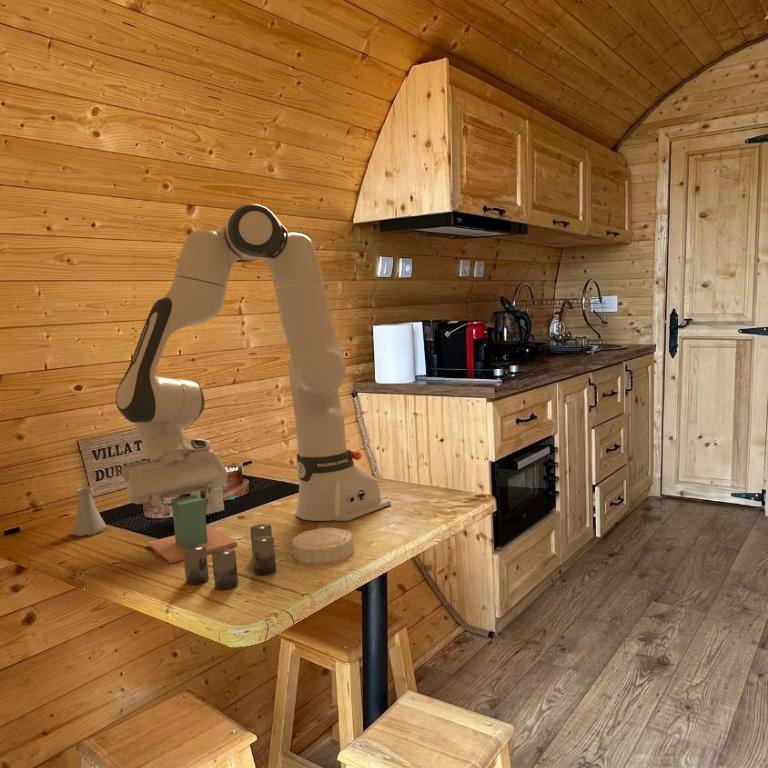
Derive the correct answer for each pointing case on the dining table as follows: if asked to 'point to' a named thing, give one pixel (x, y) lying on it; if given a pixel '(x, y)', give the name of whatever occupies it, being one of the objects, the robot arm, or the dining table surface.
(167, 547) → the tile
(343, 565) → the dining table surface
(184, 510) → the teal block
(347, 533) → the mooncake
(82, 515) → the flask
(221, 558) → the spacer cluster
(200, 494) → the syrup box
